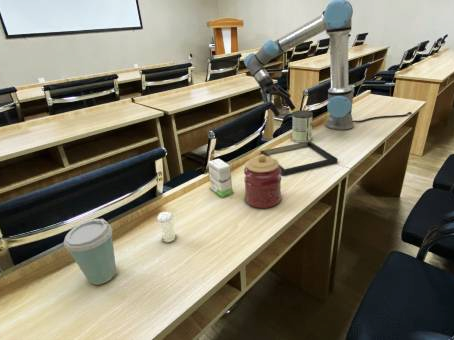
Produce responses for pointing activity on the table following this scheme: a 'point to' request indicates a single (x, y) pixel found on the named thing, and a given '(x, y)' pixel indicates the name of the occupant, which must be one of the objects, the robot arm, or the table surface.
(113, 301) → the table surface
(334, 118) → the robot arm
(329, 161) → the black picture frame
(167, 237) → the salt shaker
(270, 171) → the kitchen canister
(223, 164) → the ink box
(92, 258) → the disposable coffee cup
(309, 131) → the coffee can
